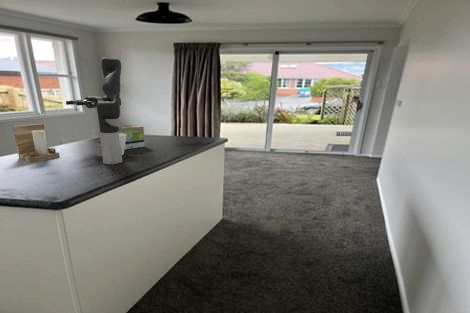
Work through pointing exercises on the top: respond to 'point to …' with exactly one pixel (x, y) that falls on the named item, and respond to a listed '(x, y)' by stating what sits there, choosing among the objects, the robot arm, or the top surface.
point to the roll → (40, 142)
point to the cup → (122, 141)
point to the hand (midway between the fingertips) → (71, 103)
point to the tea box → (133, 136)
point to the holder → (30, 143)
